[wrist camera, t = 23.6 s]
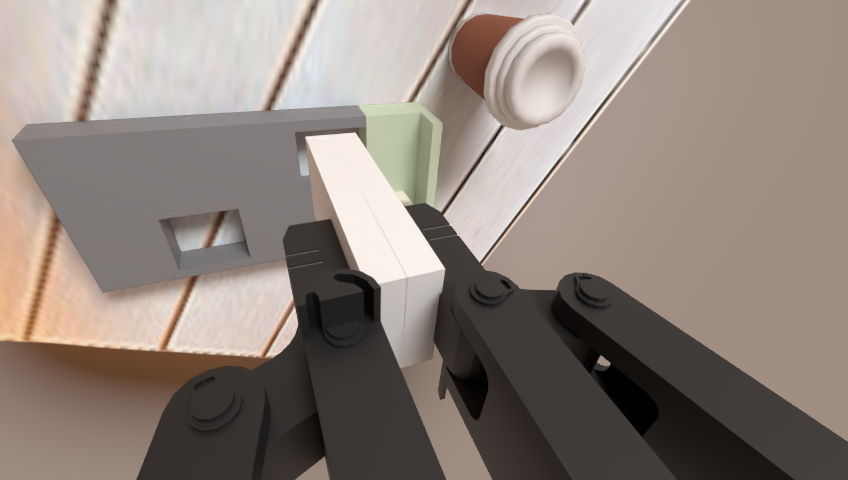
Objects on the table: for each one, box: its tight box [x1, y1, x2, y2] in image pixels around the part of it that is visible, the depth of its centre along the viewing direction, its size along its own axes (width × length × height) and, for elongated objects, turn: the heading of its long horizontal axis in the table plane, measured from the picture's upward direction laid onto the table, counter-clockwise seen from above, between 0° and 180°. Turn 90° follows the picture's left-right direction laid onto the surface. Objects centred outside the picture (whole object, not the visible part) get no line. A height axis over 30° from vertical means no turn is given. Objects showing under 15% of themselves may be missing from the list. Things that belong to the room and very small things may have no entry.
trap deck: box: [12, 102, 443, 293], centre depth 37 cm, size 32×15×6 cm, turn 86°
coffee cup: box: [449, 13, 585, 130], centre depth 35 cm, size 9×9×12 cm
